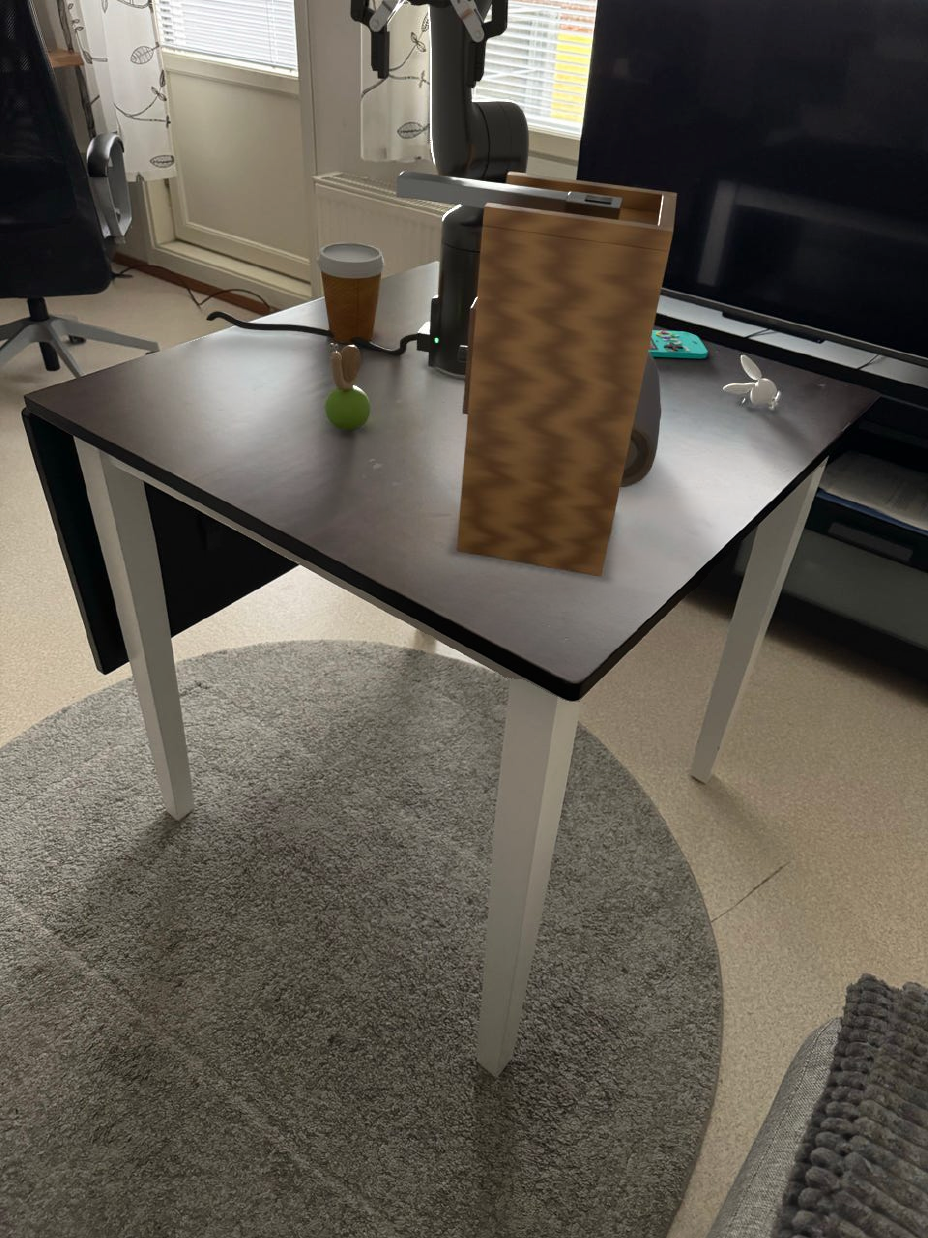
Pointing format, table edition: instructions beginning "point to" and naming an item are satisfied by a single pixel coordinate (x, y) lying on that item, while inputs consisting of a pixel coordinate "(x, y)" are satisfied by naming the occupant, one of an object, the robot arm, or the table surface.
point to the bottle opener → (503, 195)
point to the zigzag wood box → (557, 371)
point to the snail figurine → (346, 391)
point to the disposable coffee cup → (351, 288)
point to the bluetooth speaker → (644, 428)
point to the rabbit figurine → (755, 386)
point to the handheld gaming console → (676, 345)
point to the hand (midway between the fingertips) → (426, 82)
